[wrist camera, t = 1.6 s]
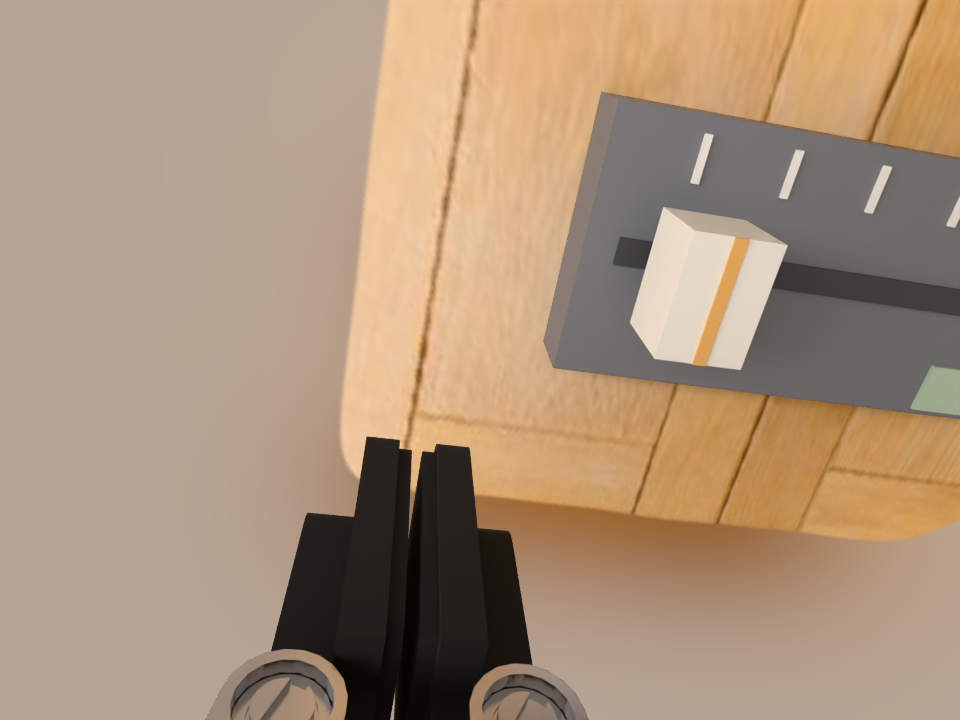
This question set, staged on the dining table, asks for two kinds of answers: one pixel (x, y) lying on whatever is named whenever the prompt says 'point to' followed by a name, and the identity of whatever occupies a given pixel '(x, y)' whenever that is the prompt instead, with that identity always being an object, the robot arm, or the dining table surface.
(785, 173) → the console
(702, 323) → the fader
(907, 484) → the dining table surface
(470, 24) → the dining table surface
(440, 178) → the dining table surface
